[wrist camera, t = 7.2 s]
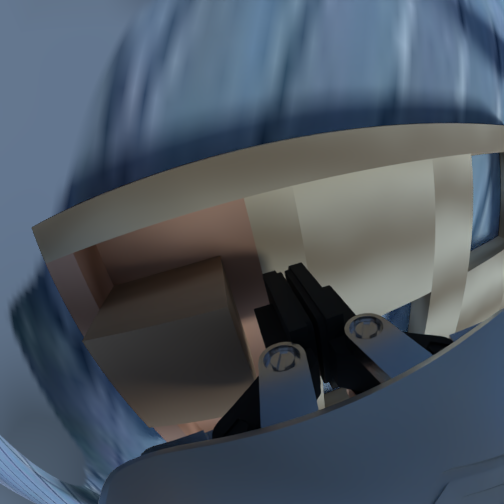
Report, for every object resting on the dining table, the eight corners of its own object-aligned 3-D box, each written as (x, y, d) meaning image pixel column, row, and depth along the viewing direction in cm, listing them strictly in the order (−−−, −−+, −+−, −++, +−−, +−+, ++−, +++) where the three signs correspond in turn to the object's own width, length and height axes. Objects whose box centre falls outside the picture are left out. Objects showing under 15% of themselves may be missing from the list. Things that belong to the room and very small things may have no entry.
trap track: (74, 205, 11) (31, 227, 7) (505, 125, 13) (538, 129, 9) (203, 438, 19) (205, 477, 15) (490, 314, 21) (512, 331, 17)
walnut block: (113, 286, 11) (82, 340, 7) (220, 255, 11) (227, 306, 7) (157, 366, 13) (149, 427, 9) (249, 345, 13) (264, 407, 9)
